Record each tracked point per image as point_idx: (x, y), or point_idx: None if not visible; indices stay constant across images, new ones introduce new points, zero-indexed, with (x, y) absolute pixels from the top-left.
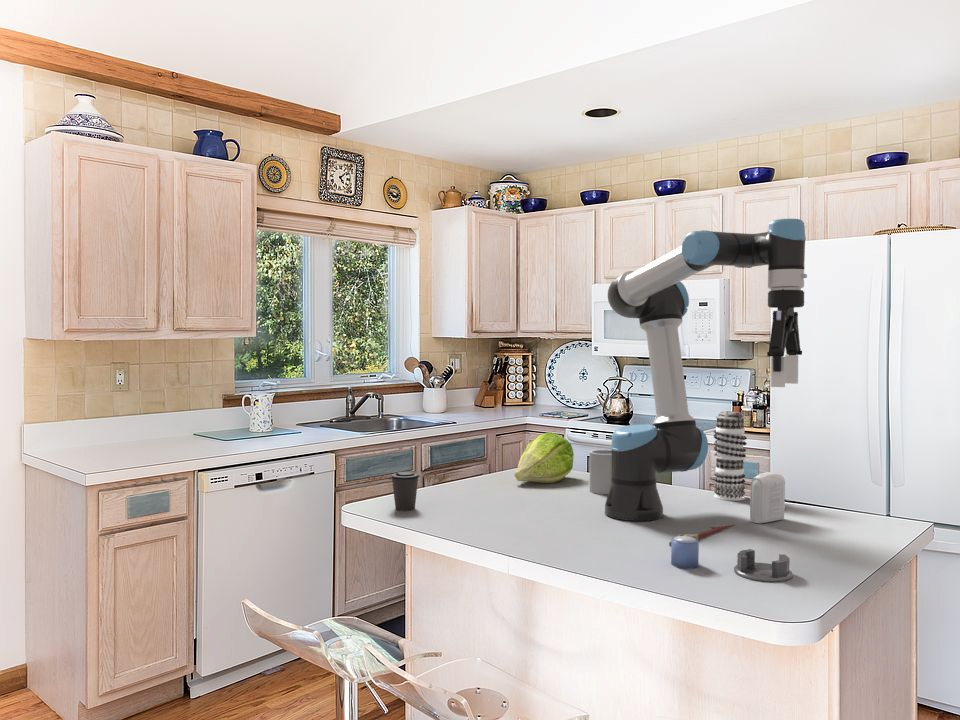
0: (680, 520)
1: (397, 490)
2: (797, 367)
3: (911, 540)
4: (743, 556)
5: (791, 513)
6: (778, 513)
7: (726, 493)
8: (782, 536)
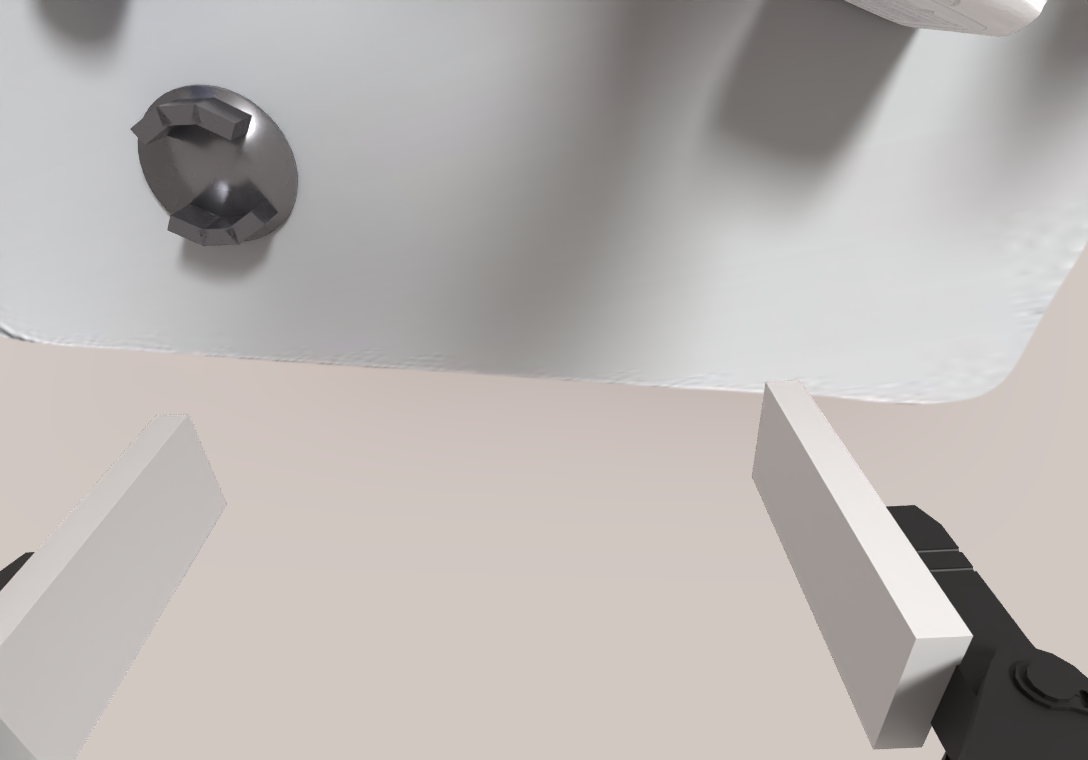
0: None
1: None
2: (809, 602)
3: None
4: (143, 132)
5: None
6: (885, 16)
7: None
8: (648, 96)
